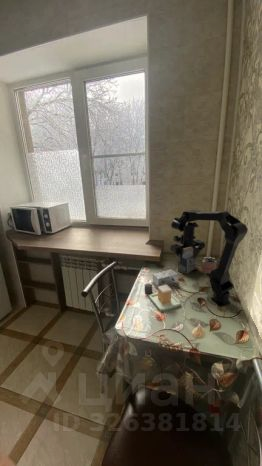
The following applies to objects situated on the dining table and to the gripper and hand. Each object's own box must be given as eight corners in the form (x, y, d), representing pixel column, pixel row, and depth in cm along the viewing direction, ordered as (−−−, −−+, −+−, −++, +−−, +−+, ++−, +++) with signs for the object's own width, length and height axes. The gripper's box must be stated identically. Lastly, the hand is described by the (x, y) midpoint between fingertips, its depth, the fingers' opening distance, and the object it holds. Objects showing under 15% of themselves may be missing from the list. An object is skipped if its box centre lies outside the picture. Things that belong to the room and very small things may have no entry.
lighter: (215, 271, 127) (216, 256, 123) (215, 274, 124) (217, 259, 120) (201, 270, 129) (202, 255, 125) (201, 273, 125) (202, 258, 122)
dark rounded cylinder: (153, 293, 108) (153, 286, 106) (146, 295, 106) (146, 288, 105) (150, 289, 111) (150, 282, 110) (143, 291, 110) (143, 284, 108)
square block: (171, 301, 100) (171, 289, 97) (162, 304, 98) (162, 291, 96) (165, 296, 104) (166, 284, 101) (157, 298, 102) (158, 286, 100)
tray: (181, 305, 98) (181, 303, 97) (160, 312, 94) (160, 309, 93) (167, 292, 108) (167, 289, 108) (148, 297, 104) (148, 295, 104)
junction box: (178, 283, 115) (179, 274, 113) (157, 289, 110) (157, 279, 108) (171, 277, 121) (171, 268, 119) (151, 282, 117) (151, 273, 115)
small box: (186, 265, 135) (187, 250, 132) (195, 268, 131) (196, 253, 127) (177, 271, 128) (177, 255, 125) (186, 275, 124) (187, 259, 120)
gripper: (193, 227, 119) (191, 252, 124) (165, 232, 113) (164, 258, 118) (207, 232, 109) (204, 259, 114) (176, 238, 103) (175, 266, 108)
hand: (186, 260), depth 114 cm, fingers open, 9 cm apart
